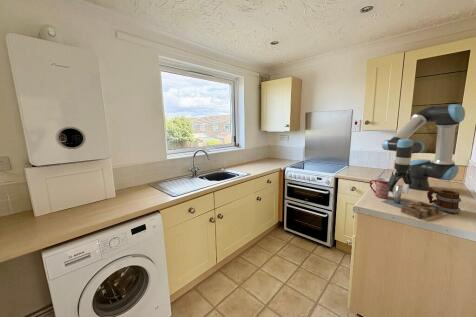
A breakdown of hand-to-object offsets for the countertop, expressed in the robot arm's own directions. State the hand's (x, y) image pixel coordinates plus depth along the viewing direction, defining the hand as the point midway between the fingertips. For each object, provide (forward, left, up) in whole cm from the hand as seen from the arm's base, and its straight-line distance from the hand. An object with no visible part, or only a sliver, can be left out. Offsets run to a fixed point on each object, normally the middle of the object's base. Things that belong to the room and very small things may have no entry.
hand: (398, 194), depth 129 cm
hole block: (+3, +14, -6) cm, 16 cm away
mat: (0, 0, -6) cm, 6 cm away
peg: (0, 0, -6) cm, 6 cm away
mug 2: (-15, +16, -6) cm, 23 cm away
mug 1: (-1, -13, -6) cm, 14 cm away
